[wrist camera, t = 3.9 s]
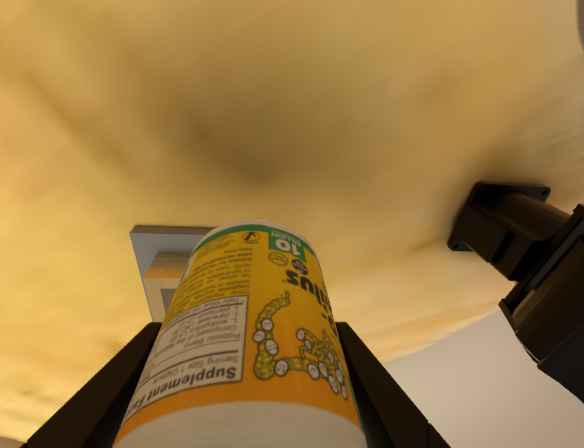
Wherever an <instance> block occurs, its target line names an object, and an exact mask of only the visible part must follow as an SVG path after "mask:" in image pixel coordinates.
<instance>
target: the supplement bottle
mask: <svg viewBox="0 0 584 448" xmlns="http://www.w3.org/2000/svg"><path fill="white" fill-rule="evenodd" d="M112 448H367V443H366V438H365V433H364V429H363V426H362V422H361V418H360V415H359V411H358V407H357V404H356V400H355V396H354V392H353V388H352V385H351V381H350V377H349V373H348V368H347V365H346V362H345V358H344V354H343V350H342V347H341V344H340V340H339V336H338V331H337V327H336V324H335V321H334V319H333V315H332V309H331V305H330V302H329V298H328V294H327V290H326V286H325V283H324V279H323V275H322V270H321V267H320V264H319V260H318V257H317V255H316V253H315V251H314V249H313V247H312V246H311V245H310V243H309V242H308V240H307V239H305V238H304V237H303V236H302V235H301V234H300V233H298V232H296V231H295V230H293V229H291V228H289V227H286V226H284V225H282V224H280V223H277V222H274V221H271V220H267V219H258V218H244V219H239V220H235V221H231V222H228V223H225V224H223V225H221V226H219V227H217V228H215V229H213V230H212V231H210V232H209V233H208V234H206V235H205V236H204V237H203V238H202V239H201V240H200V241H199V243H198V244H197V245H196V247H195V248H194V250H193V252H192V254H191V256H190V258H189V260H188V262H187V265H186V267H185V269H184V272H183V274H182V277H181V279H180V282H179V284H178V286H177V289H176V291H175V294H174V296H173V298H172V301H171V303H170V306H169V308H168V311H167V313H166V316H165V318H164V321H163V323H162V325H161V328H160V331H159V333H158V336H157V338H156V341H155V343H154V346H153V348H152V350H151V352H150V355H149V357H148V359H147V362H146V365H145V367H144V370H143V372H142V375H141V377H140V380H139V382H138V385H137V387H136V389H135V392H134V394H133V397H132V399H131V401H130V404H129V406H128V409H127V411H126V414H125V416H124V419H123V421H122V424H121V426H120V429H119V432H118V434H117V436H116V439H115V441H114V444H113V446H112Z"/></svg>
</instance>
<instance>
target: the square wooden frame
mask: <svg viewBox="0 0 584 448" xmlns="http://www.w3.org/2000/svg"><path fill="white" fill-rule="evenodd" d="M191 254H192V253H171V252H158V253H157V255H156V256H155V258H154V260H153V261H152V263H151V265H150V266H149V268H148V270H147V271H146V273H145V275H144V276H143V281H144V285H145V289H146V293H147V297H148V301H149V305H150V308H151V312H152V316H153V320H154V322H163V321H164V318H165V316H166V313H167V311H168V308H169V306H170V303H171V301H172V298H173V296H174V294H175V291H176V289H177V286H178V284H179V282H180V279H181V277H182V274H183V272H184V269H185V267H186V265H187V262H188V260H189V258H190V256H191Z"/></svg>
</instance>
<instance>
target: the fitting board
mask: <svg viewBox="0 0 584 448" xmlns="http://www.w3.org/2000/svg"><path fill="white" fill-rule="evenodd" d="M212 230H213V229H212V228H179V227H145V226H135V227H134V228H133V229H132V231H131V232H130V237H131V240H132V244H133V248H134V252H135V256H136V259H137V263H138V267H139V271H140V275H141V278H142V282H143V286H144V290H145V294H146V297H147V293H146V289H145V285H144V281H143V276H144V275H145V273H146V271H147V270H148V268H149V266H150V265H151V263H152V261H153V260H154V258H155V256H156V255H157V253H158V252H171V253H192V252H193V250H194V248H195V247H196V245H197V244H198V243H199V241H200V240H201V239H202V238H203V237H204V236H205V235H206V234H208V233H209V232H210V231H212ZM147 301H148V297H147ZM148 305H149V301H148ZM149 309H150V313H151V317H152V320H153V316H152V312H151V308H150V305H149ZM153 322H154V320H153Z"/></svg>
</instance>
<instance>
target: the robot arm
mask: <svg viewBox="0 0 584 448" xmlns="http://www.w3.org/2000/svg"><path fill="white" fill-rule="evenodd" d="M482 187H483V188H482ZM481 188H482V189H481ZM480 189H481V190H480ZM550 192H551V189H550V188H549V187H547V186H544V185H529V184H511V183H493V182H480V183H478V184H476V185H475V187H474V189H473V191H472V193H471V195H470V197H469V199H468V202H467V204H466V206H465V208H464V210H463V212H462V215H461V217H460V219H459V221H458V223H457V225H456V228H455V230H454V232H453V234H452V236H451V238H450V241H449V243H448V247H449V248H450V249H451V250H452V251H474V252H475V253H476V254H477V255H479V256H480V257H481V258H482V259H483V260H484V261H485V262H487V263H490V264H491V265H492V266H493V267H494V268H495V269H496V270H498V271H499V272H500V273H501V274H502V275H503V276H504V277H505V278H507V279H508V280H509V281H514V282H515V283H516V285H515V286H514V287H513V289H512V290H511V291H510V292H509V294H508V295H507V296H506V297H505V299H502V300H501V301H500V302H499V304H498V305H499V307H500V308H501V310H502V312H503V313H504V315H505V317H506V318H507V320H508V322H509V323H510V325H511V327H512V329H513V330H514V332H515V335H516V337H517V339H518V340H519V342H520V343H521V344H522V346H523V347H524V349H525V350H526V351H527V353H528V354H529V356H530V357H531V358H532V360H533V361H535V362H536V363H537V364H538V365H537V367H538V369H539V370H541V371H542V372H544V373H545V374H547V375H548V376H550V377H551V378H553V379H554V380H556V381H557V382H559V383H560V384H561V385H562V386H564V387H565V388H566V389H567V390H569V391H570V392H571V393H572V394H574V395H575V396H576V397H577V398H578V399H579V400H581V401H582V402H583V403H584V204H578V205H577V206H576V208H575V209H574V210H573V212H574V213H573V214H572V215H570V214H568V213H566V212H564V211H561V210H559V209H557V208H555V207H553V206H551V205H549V204H547V203H545V200H546V199H547V197H548V195H549V194H550ZM162 323H163V322H150V323H149V324H147V325H146V326H145V327H144V328H143V329H142V330H141V331H140V332H139V333H138V334H137V335H136V336H135V337H134V338H133V339H132V340H131V341H130V342H129V343H128V344H127V345H125V346H124V347H123V348H122V349H121V350H120V351H119V352H118V353H117V354H116V355H115V356H114V357H113V358H112V359H111V360H110V361H109V362H108V363H107V364H106V365H105V366H104V367H103V368H102V369H101V370H100V371H98V372H97V373H96V374H95V375H94V376H93V377H92V378H91V379H90V380H89V381H88V382H87V383H86V384H85V385H84V386H83V387H82V388H81V389H80V390H79V391H78V392H77V393H76V394H75V395H74V396H72V397H71V398H70V399H69V400H68V401H67V402H66V403H65V404H64V405H63V406H62V407H61V408H60V409H59V410H58V411H57V412H56V413H55V414H54V415H53V416H52V417H51V418H50V419H49V420H48V421H47V422H45V423H44V424H43V425H42V426H41V427H40V428H39V429H38V430H37V431H36V432H35V433H34V434H33V435H32V436H31V437H30V438H29V439H28V440H27V443H24V444H23V445H21V446H20V447H19V448H112V446H113V444H114V441H115V439H116V436H117V434H118V432H119V429H120V426H121V424H122V421H123V419H124V416H125V414H126V411H127V409H128V406H129V404H130V401H131V399H132V397H133V394H134V392H135V389H136V387H137V385H138V382H139V380H140V377H141V375H142V372H143V370H144V367H145V365H146V362H147V359H148V357H149V355H150V352H151V350H152V348H153V346H154V343H155V341H156V338H157V336H158V333H159V331H160V328H161V325H162ZM335 324H336V327H337V331H338V336H339V340H340V344H341V347H342V350H343V354H344V358H345V362H346V365H347V368H348V373H349V377H350V381H351V385H352V388H353V392H354V396H355V400H356V404H357V407H358V411H359V415H360V418H361V422H362V426H363V429H364V433H365V438H366V443H367V448H451V447H450V446H449V445H448V444H447V443H446V441H445V440H444V439H443V438H442V437H441V435H440V434H439V433H438V432H437V431H436V430H435V428H434V427H433V426H432V425H431V424H430V423H428V420H427V419H426V418H425V416H424V415H423V414H422V413H421V411H420V410H419V409H418V408H417V407H416V405H415V404H414V403H413V402H412V401H411V399H410V398H409V397H408V396H407V395H406V393H405V392H404V391H403V390H402V389H401V387H400V386H399V385H398V384H397V383H396V381H395V380H394V379H393V378H392V377H391V375H390V374H389V373H388V372H387V370H386V369H385V368H384V367H383V366H382V364H381V363H380V362H379V361H378V360H377V358H376V357H375V356H374V355H373V354H372V352H371V351H370V350H369V349H368V348H367V346H366V345H365V344H364V343H363V341H362V340H361V339H360V338H359V337H358V335H357V334H356V333H355V332H354V331H353V329H352V328H351V327H350V326H349V325H348V323H346V322H335Z"/></svg>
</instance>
